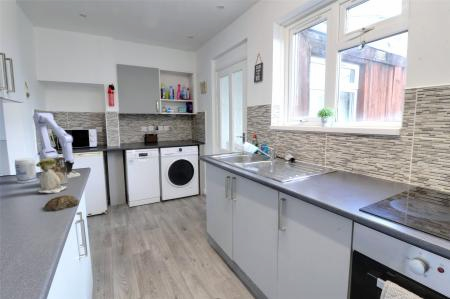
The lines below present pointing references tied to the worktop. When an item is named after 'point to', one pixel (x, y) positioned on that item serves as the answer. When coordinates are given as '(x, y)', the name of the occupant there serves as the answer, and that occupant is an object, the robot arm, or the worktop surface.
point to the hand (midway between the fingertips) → (69, 171)
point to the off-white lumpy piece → (49, 177)
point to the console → (72, 174)
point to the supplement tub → (25, 170)
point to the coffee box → (60, 170)
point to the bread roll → (61, 203)
